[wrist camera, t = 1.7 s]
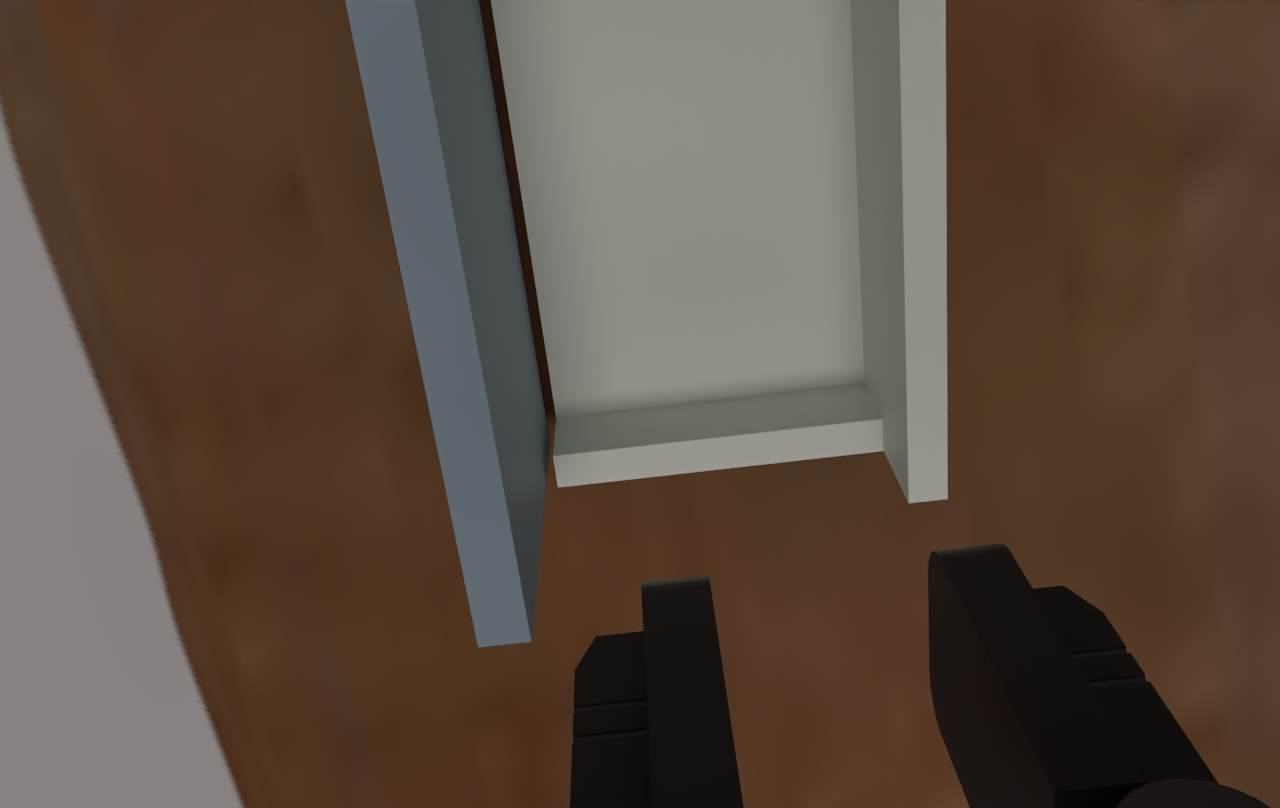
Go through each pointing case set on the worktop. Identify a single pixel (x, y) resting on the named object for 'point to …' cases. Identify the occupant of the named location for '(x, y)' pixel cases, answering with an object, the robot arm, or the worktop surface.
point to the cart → (735, 230)
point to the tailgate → (462, 289)
